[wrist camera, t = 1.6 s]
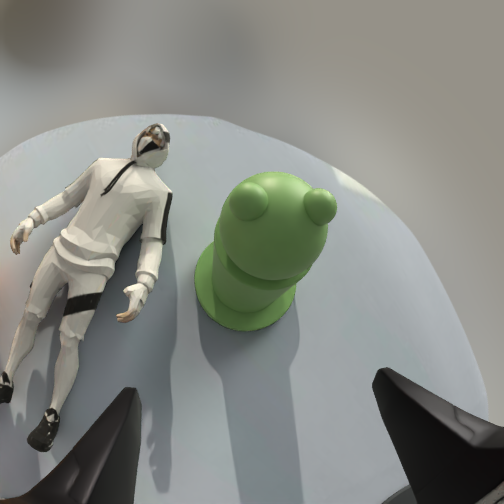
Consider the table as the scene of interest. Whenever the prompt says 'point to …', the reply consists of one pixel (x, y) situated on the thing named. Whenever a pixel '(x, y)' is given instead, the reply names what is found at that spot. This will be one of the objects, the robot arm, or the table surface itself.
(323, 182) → the table surface
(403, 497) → the mat
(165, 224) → the figurine
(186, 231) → the table surface
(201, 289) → the toy
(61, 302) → the table surface
